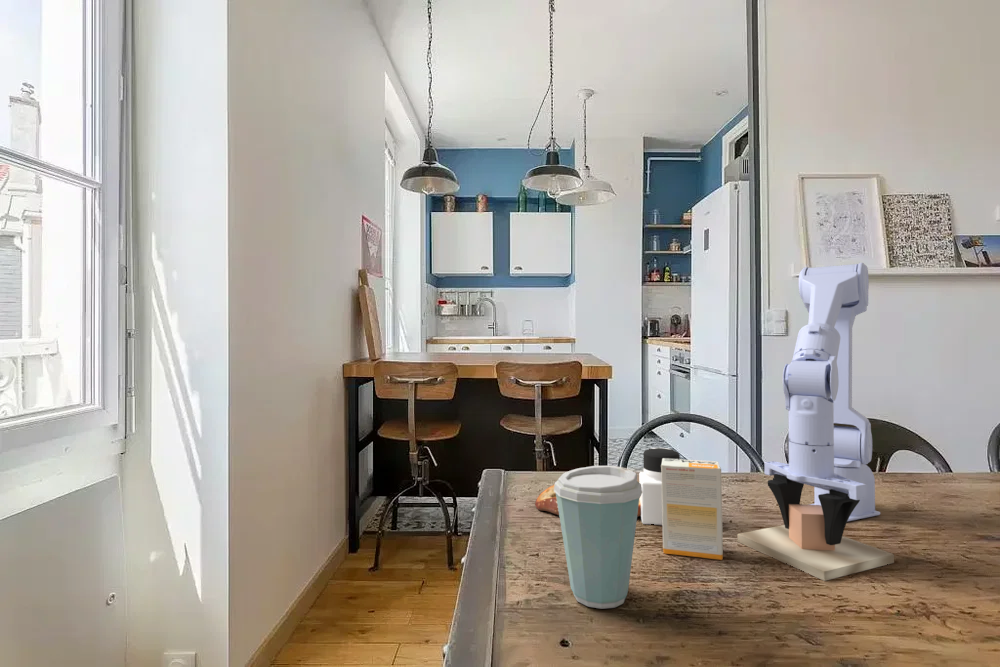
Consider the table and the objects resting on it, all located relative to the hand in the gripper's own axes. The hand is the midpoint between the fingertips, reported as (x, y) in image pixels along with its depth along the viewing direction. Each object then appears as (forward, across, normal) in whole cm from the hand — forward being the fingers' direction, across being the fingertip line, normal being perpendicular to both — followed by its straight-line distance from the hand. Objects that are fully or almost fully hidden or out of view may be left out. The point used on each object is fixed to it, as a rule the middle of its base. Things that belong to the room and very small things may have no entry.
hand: (811, 535), depth 76 cm
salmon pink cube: (+1, 0, 0) cm, 1 cm away
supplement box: (+3, -7, -16) cm, 18 cm away
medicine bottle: (+3, -20, -11) cm, 23 cm away
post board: (+2, 0, 0) cm, 2 cm away
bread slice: (+2, -29, -19) cm, 34 cm away
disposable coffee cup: (+3, -1, -36) cm, 36 cm away
